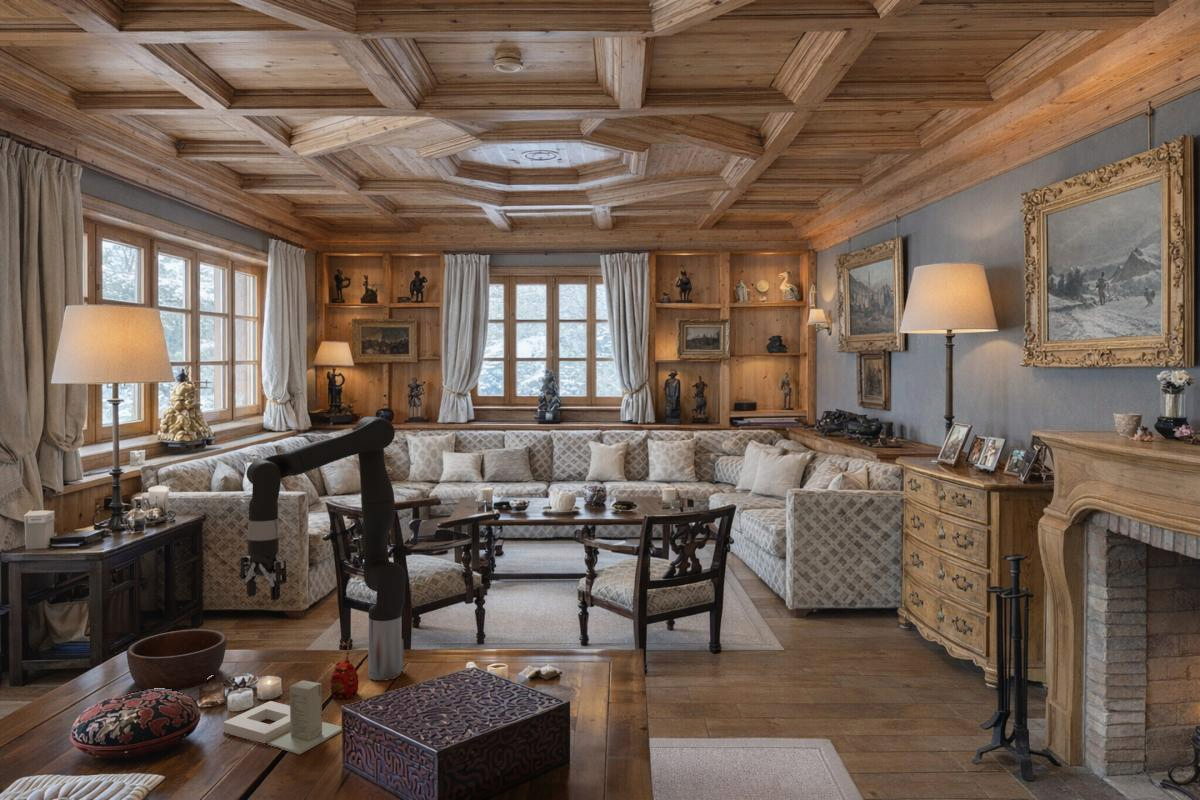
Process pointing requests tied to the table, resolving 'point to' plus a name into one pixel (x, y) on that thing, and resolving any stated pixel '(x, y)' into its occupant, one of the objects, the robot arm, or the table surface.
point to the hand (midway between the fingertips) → (263, 597)
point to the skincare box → (305, 710)
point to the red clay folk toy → (344, 679)
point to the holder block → (253, 728)
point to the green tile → (301, 744)
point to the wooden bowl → (176, 658)
